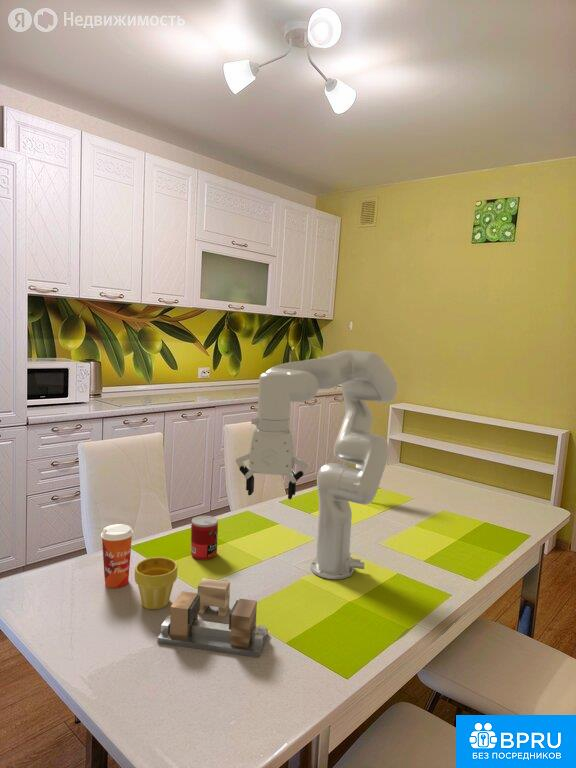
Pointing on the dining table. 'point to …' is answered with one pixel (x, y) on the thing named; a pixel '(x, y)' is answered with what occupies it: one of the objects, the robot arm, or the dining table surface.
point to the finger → (242, 621)
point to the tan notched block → (214, 595)
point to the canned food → (204, 537)
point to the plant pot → (155, 581)
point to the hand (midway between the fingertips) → (270, 495)
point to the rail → (212, 643)
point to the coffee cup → (116, 554)
